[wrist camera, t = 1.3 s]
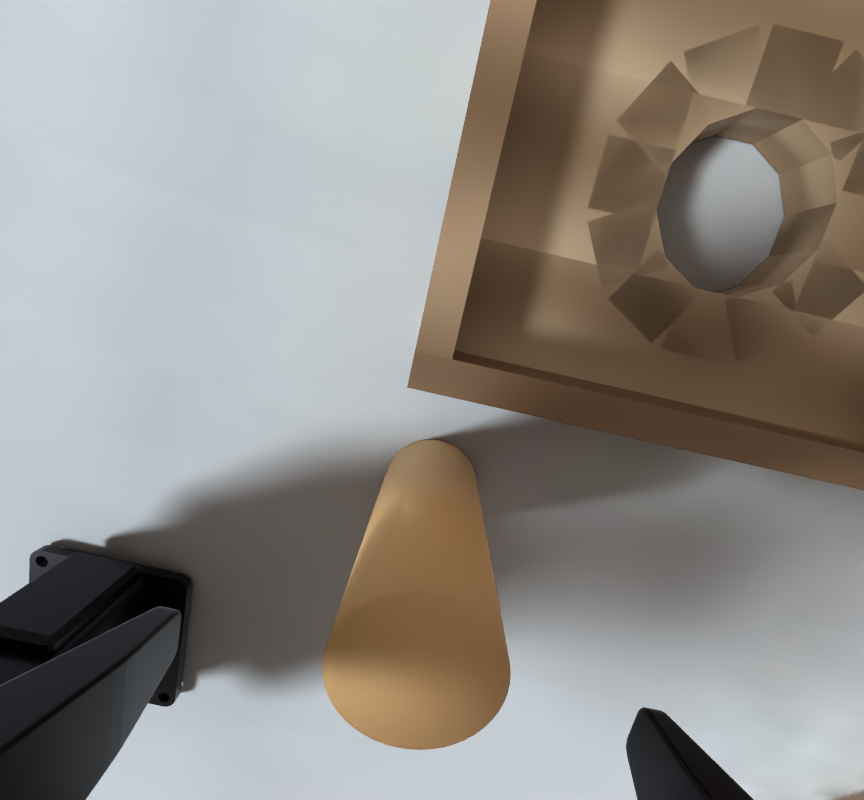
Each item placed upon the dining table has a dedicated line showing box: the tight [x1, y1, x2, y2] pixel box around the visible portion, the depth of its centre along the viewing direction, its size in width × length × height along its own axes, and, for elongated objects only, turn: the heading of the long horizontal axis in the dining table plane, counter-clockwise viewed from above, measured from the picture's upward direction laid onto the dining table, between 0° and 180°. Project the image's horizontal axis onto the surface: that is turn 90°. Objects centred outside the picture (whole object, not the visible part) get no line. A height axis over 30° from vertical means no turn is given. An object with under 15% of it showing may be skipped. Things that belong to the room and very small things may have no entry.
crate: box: [408, 0, 864, 490], centre depth 12 cm, size 14×17×4 cm
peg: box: [322, 440, 510, 750], centre depth 13 cm, size 4×4×9 cm
